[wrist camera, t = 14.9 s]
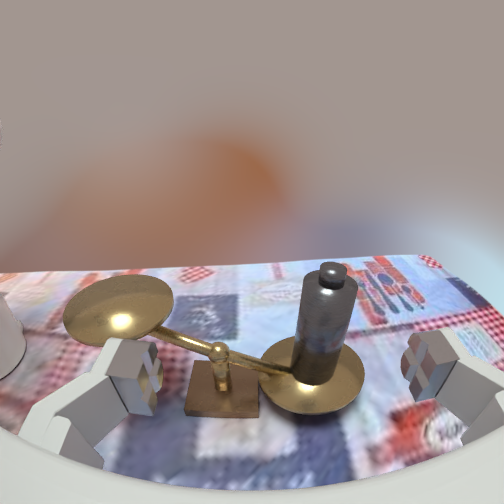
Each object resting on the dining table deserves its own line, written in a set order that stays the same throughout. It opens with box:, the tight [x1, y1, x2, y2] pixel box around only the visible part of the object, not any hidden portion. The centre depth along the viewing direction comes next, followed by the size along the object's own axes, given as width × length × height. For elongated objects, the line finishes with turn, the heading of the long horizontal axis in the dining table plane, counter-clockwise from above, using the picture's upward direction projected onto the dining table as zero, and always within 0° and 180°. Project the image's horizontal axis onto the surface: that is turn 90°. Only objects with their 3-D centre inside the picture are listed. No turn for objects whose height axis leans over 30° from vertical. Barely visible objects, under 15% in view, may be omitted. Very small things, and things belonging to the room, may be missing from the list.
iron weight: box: [290, 262, 358, 385], centre depth 27 cm, size 5×5×12 cm
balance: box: [63, 275, 365, 418], centre depth 29 cm, size 32×12×13 cm, turn 90°
